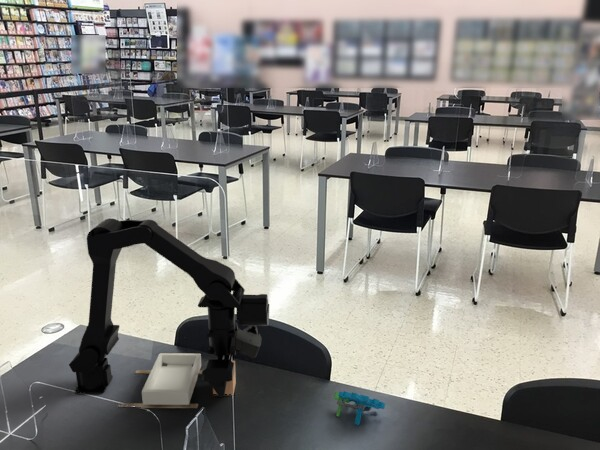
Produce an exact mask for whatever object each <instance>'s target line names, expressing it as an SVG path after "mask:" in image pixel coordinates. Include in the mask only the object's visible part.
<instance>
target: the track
mask: <svg viewBox="0 0 600 450" xmlns="http://www.w3.org/2000/svg"><path fill="white" fill-rule="evenodd" d="M151 371H152V369H150V370H149V369H145V370H144V369H141V370H140V369H136V371H135V375H150V373H151ZM198 375H202V370H200V371H199V374H198ZM119 404H122V406H121V407H125V406H124V405H128V406H127V407H129V406H135V407H141V408H140V409H145V408H146V409H198V408H199V403H189V405H143V402H140V403H139V402H138V403H136V402H134V403H131V402H130V403H128V402H126V403H124V402H123V403H122V402H120V403H119ZM119 404H118V406H119V407H120V405H119Z"/></svg>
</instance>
